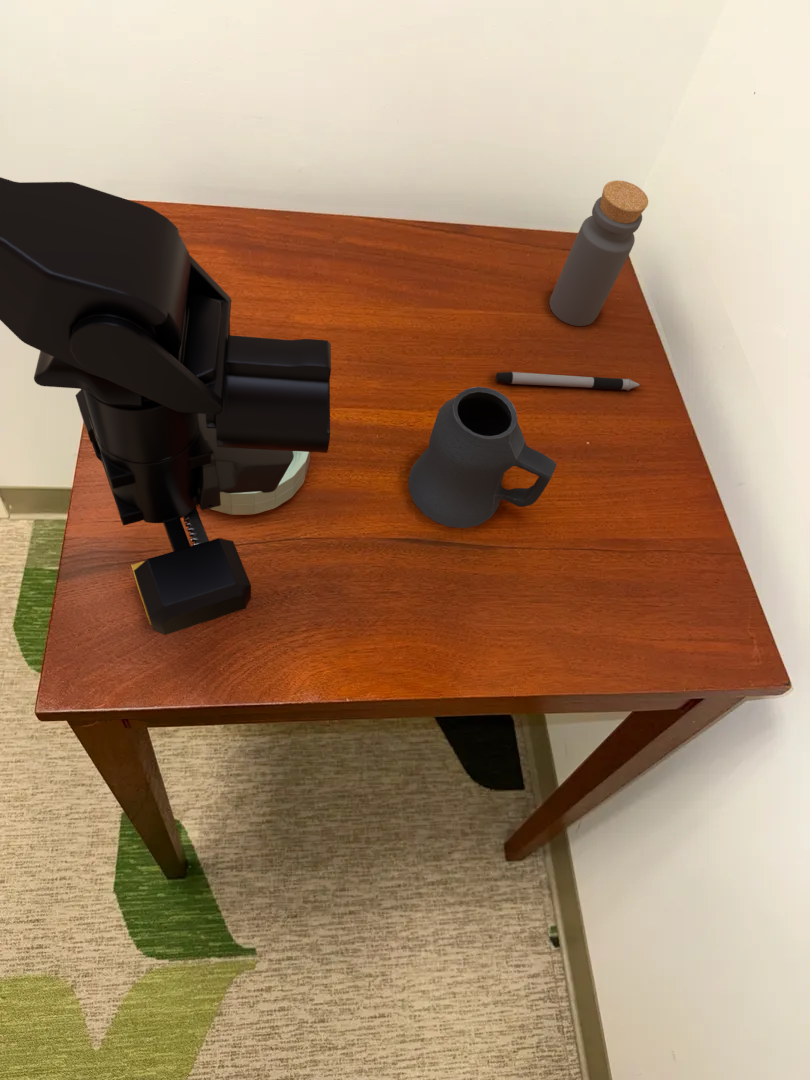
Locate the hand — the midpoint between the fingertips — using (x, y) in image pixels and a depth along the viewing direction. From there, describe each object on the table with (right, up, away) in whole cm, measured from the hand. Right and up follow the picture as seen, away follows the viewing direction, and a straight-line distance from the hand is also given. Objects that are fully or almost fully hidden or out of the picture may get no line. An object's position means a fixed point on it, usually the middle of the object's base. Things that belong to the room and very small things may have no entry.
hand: (171, 554), depth 57 cm
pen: (+35, +18, +26) cm, 47 cm away
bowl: (+2, +8, +13) cm, 16 cm away
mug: (+23, +5, +16) cm, 29 cm away
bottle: (+37, +28, +32) cm, 56 cm away
